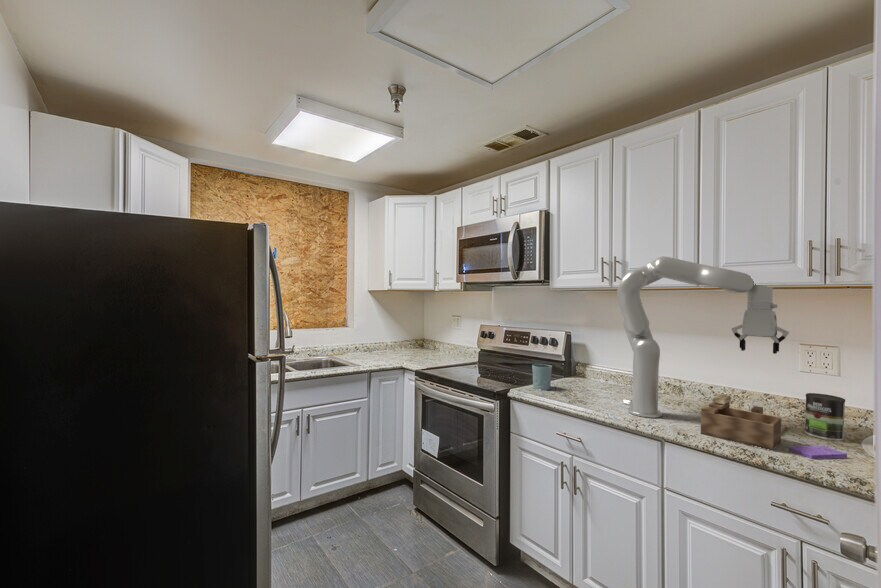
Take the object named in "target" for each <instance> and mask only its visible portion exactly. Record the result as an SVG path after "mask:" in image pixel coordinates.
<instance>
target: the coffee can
mask: <svg viewBox="0 0 881 588" xmlns="http://www.w3.org/2000/svg"><path fill="white" fill-rule="evenodd" d="M845 403H846V398H843V397H840V396H837V395H832V394H825V393H815V392H814V393H813V392H809V393H808V392H807V393H805V420H804V421H805V422H804V423H805V424H804V427H805V428H804V430H805V431H804V433H805V434H806V435H807V436H811V437H813V438H818V439H822V440H827V441H834V442H835V441H836V442H842V441H845V414H846V413H845V409H846V404H845Z"/></svg>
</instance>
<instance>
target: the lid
mask: <svg viewBox="0 0 881 588" xmlns="http://www.w3.org/2000/svg"><path fill="white" fill-rule="evenodd" d="M750 410H751V411H750V412H754V413H759V414H764V407H763V406H758V405H754V406H753V407H751V409H750ZM787 428H788V426H787V425H786V424H782V423H781V435H782V434H783V433H784V432H785V431H786V430H787Z"/></svg>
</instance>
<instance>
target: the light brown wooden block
mask: <svg viewBox="0 0 881 588" xmlns="http://www.w3.org/2000/svg"><path fill="white" fill-rule="evenodd" d="M730 401H731V395H729V394H728V395H727V394H723V393H722V394H721V393H719V394H717V395H715V396H713V398H712V402H713V403H719V404H726V403H728V402H730Z"/></svg>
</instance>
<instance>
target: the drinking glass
mask: <svg viewBox="0 0 881 588" xmlns="http://www.w3.org/2000/svg"><path fill="white" fill-rule="evenodd" d="M531 368H532V369H531V370H532V387H534V388H536V389H541V390H540V391H549V389H550V390H551V381H552V371H553V365H550V364H544V363H534V364H532V365H531ZM534 388H533V389H534ZM536 389H535V390H536Z"/></svg>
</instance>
